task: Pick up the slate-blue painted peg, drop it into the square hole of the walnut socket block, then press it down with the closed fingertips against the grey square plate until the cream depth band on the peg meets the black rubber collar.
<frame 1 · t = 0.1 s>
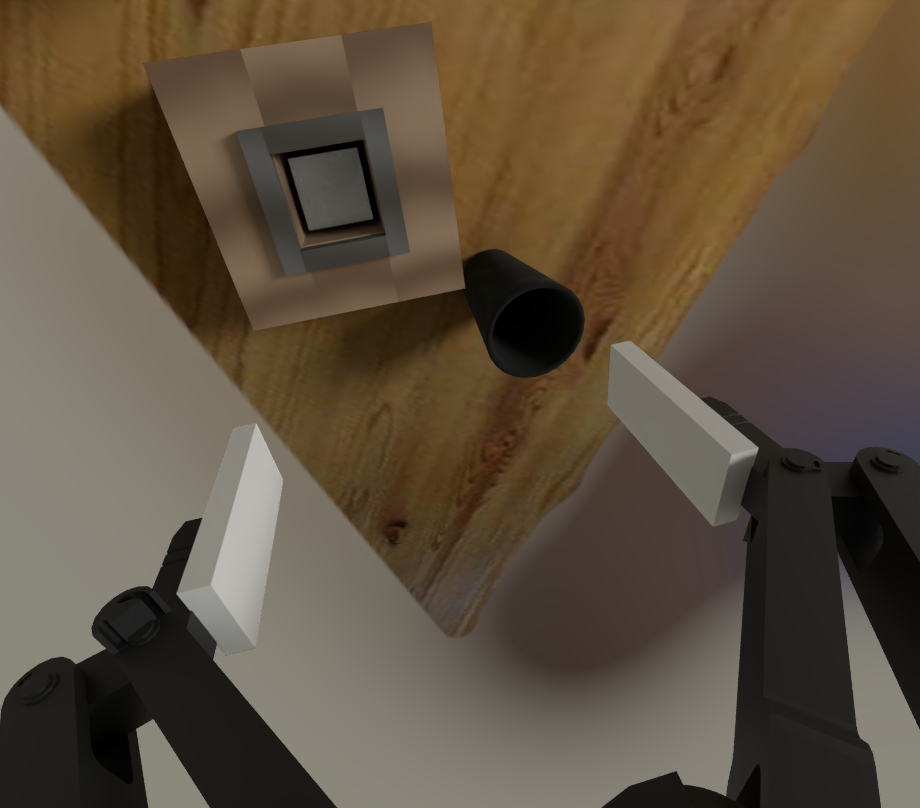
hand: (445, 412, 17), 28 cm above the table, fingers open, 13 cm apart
cup: (490, 278, 44), on the table
grey square plate: (332, 189, 33), point 6 cm above the table, slide at 0.0 cm
socket block: (334, 178, 37), on the table
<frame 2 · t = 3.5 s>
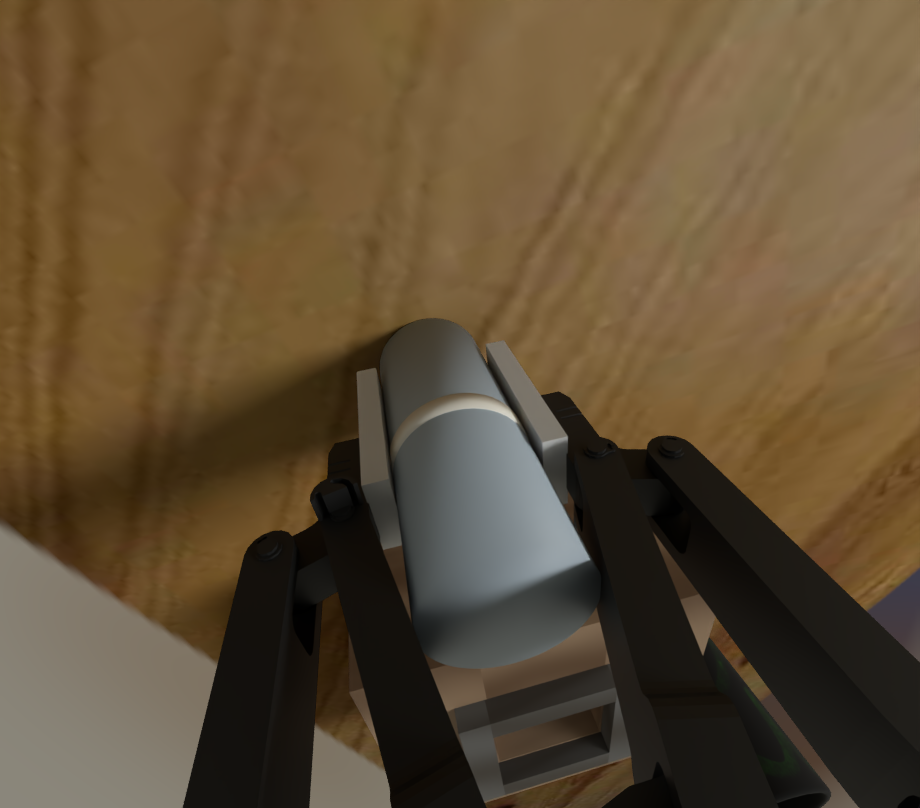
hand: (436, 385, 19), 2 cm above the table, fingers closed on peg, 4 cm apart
cup: (656, 626, 37), on the table
socket block: (504, 587, 30), on the table
peg: (430, 365, 20), on the table, touching gripper
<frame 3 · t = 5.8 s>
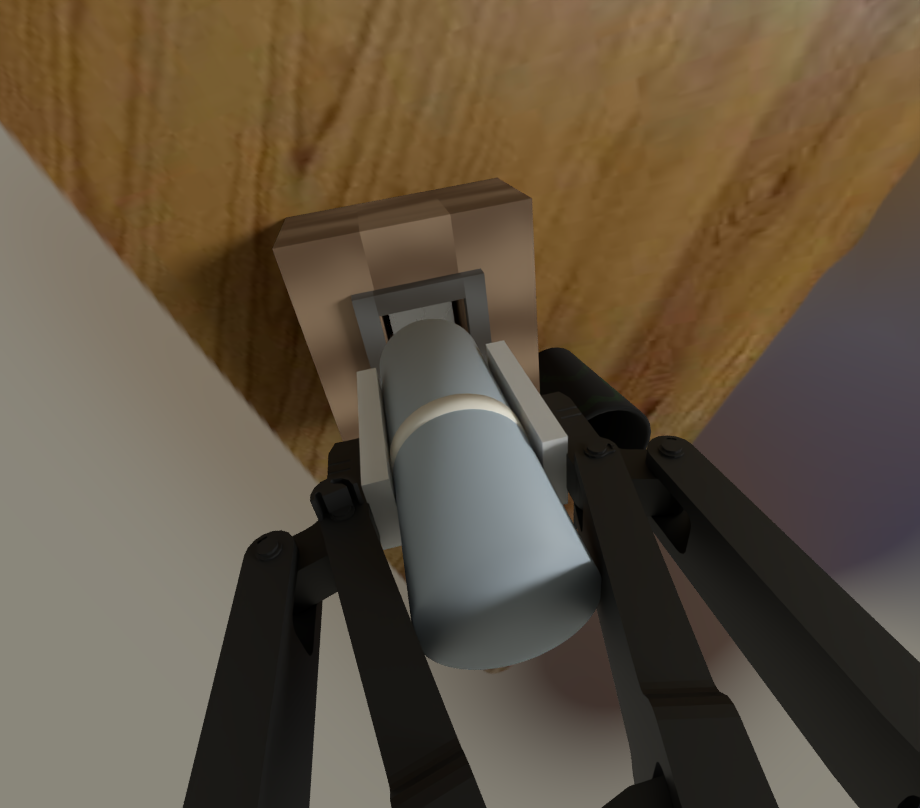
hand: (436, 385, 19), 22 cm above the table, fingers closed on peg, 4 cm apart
cup: (550, 371, 47), on the table
grey square plate: (423, 325, 35), point 6 cm above the table, slide at 0.0 cm
socket block: (414, 298, 39), on the table
peg: (430, 366, 20), point 20 cm above the table, touching gripper
when the fingers open (10 cm above the table, at t = 8.4 s): peg drops 7 cm, resting on grey square plate.
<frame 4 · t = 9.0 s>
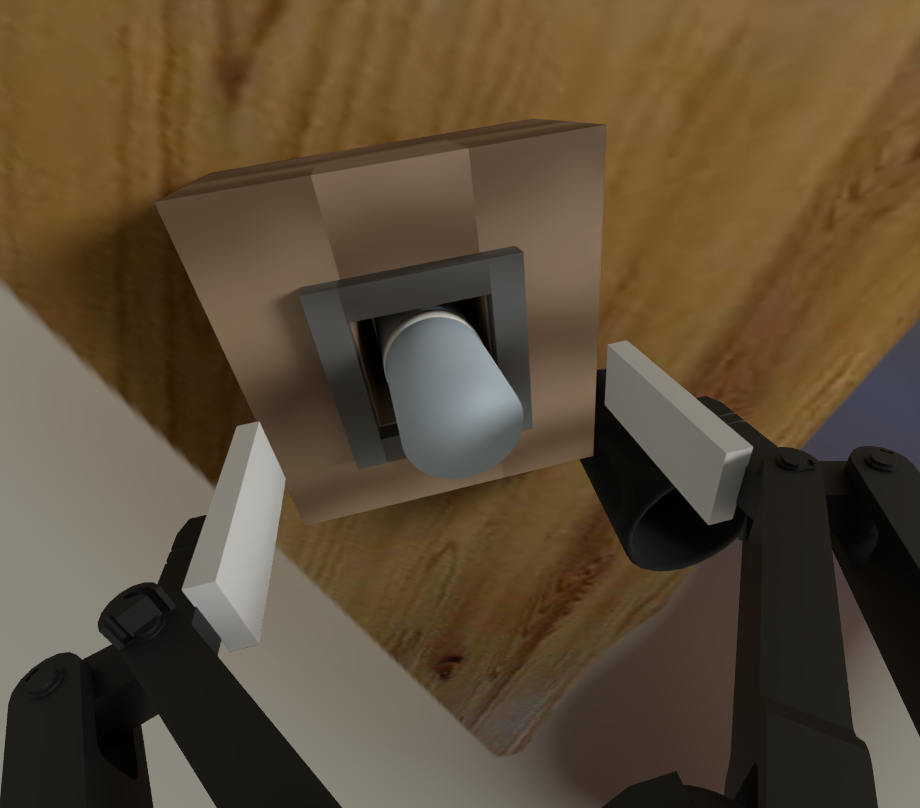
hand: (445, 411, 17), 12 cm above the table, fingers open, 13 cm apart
cup: (593, 401, 35), on the table
grey square plate: (411, 305, 27), point 1 cm above the table, slide at -4.6 cm, touching peg
socket block: (409, 299, 27), on the table
peg: (412, 308, 26), point 1 cm above the table, touching grey square plate
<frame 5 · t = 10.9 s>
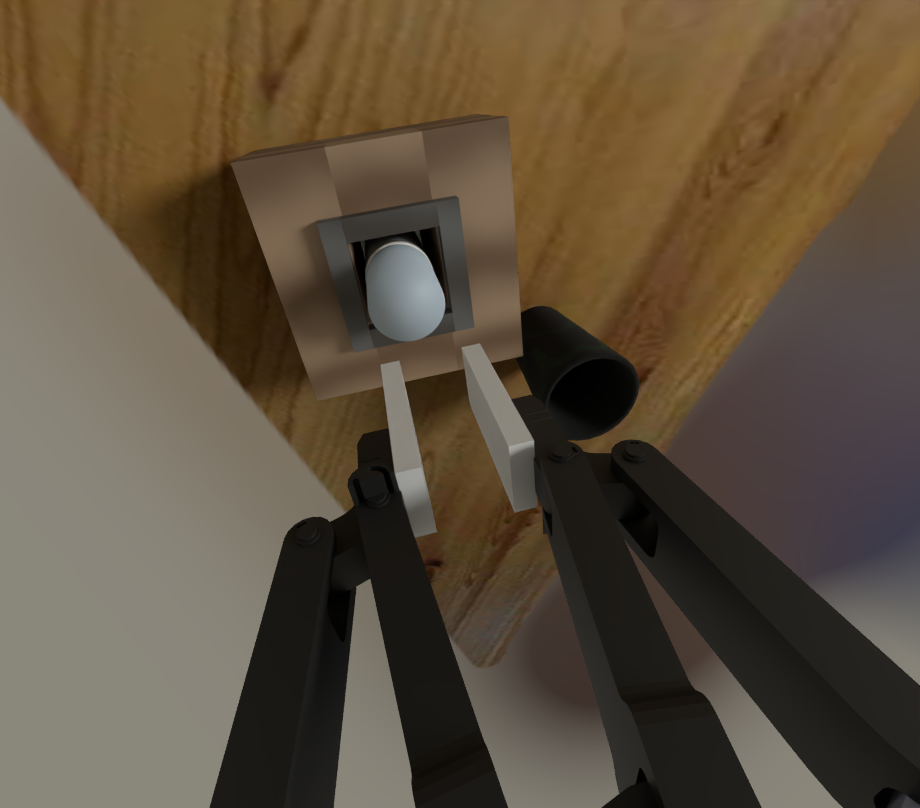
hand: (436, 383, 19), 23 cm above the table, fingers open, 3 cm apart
cup: (536, 332, 45), on the table
grey square plate: (392, 248, 37), point 1 cm above the table, slide at -4.6 cm, touching peg
socket block: (391, 245, 38), on the table
peg: (393, 250, 36), point 1 cm above the table, touching grey square plate
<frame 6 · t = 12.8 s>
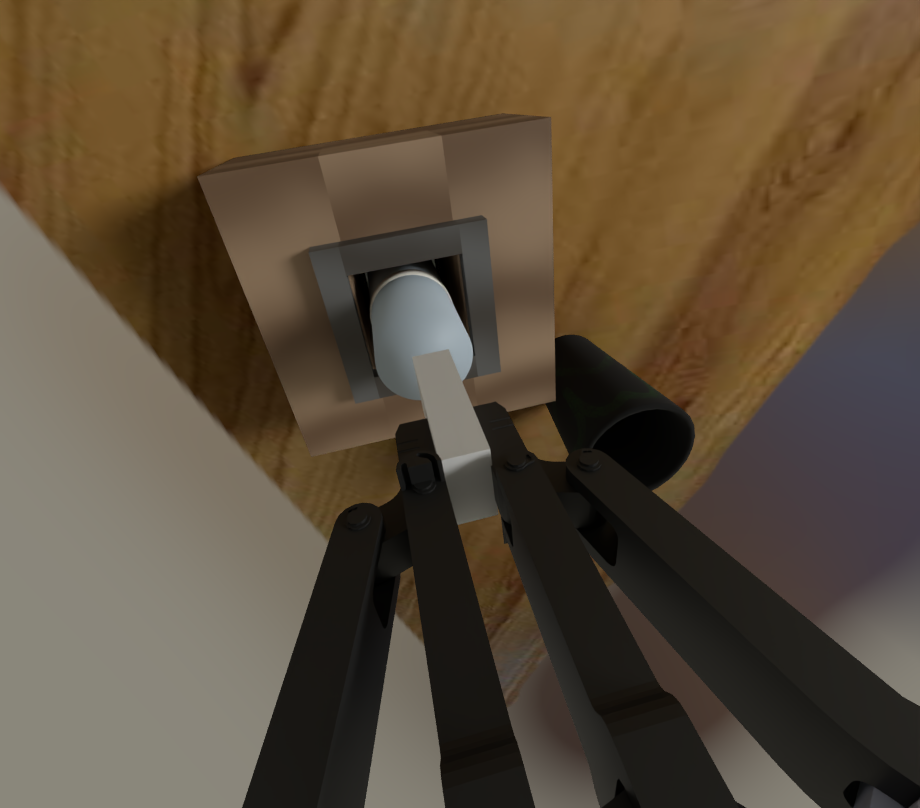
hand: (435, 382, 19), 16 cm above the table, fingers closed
cup: (563, 364, 39), on the table
grey square plate: (401, 273, 31), point 1 cm above the table, slide at -4.6 cm, touching peg
socket block: (399, 268, 32), on the table
peg: (401, 275, 31), point 1 cm above the table, touching grey square plate
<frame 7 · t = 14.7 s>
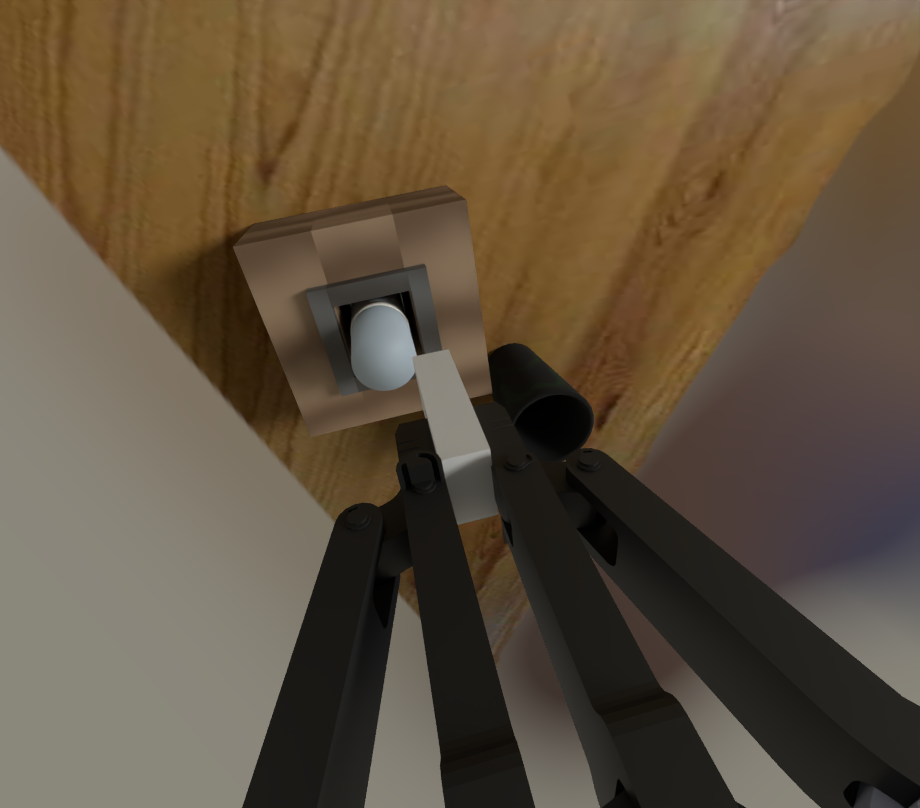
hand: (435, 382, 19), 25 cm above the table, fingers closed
cup: (510, 366, 50), on the table
grey square plate: (376, 300, 42), point 1 cm above the table, slide at -4.6 cm, touching peg
socket block: (375, 296, 43), on the table
peg: (376, 302, 41), point 1 cm above the table, touching grey square plate
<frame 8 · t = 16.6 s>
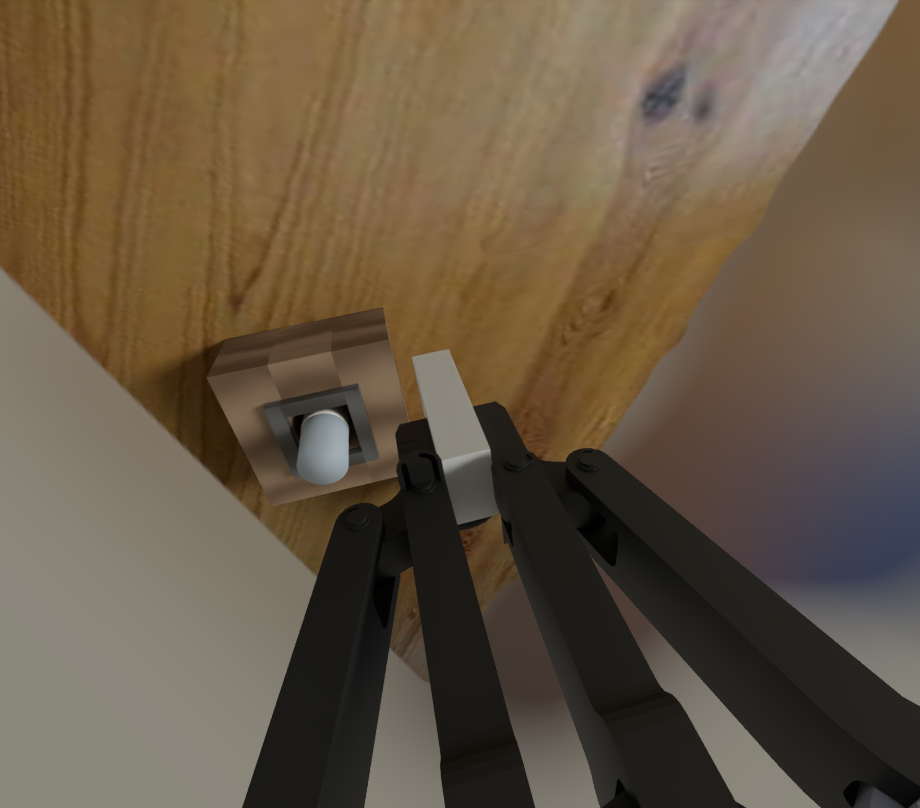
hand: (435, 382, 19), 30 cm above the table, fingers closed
socket block: (328, 388, 52), on the table
peg: (327, 395, 51), point 1 cm above the table, touching grey square plate
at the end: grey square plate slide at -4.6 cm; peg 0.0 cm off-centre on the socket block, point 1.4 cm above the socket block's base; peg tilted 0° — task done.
